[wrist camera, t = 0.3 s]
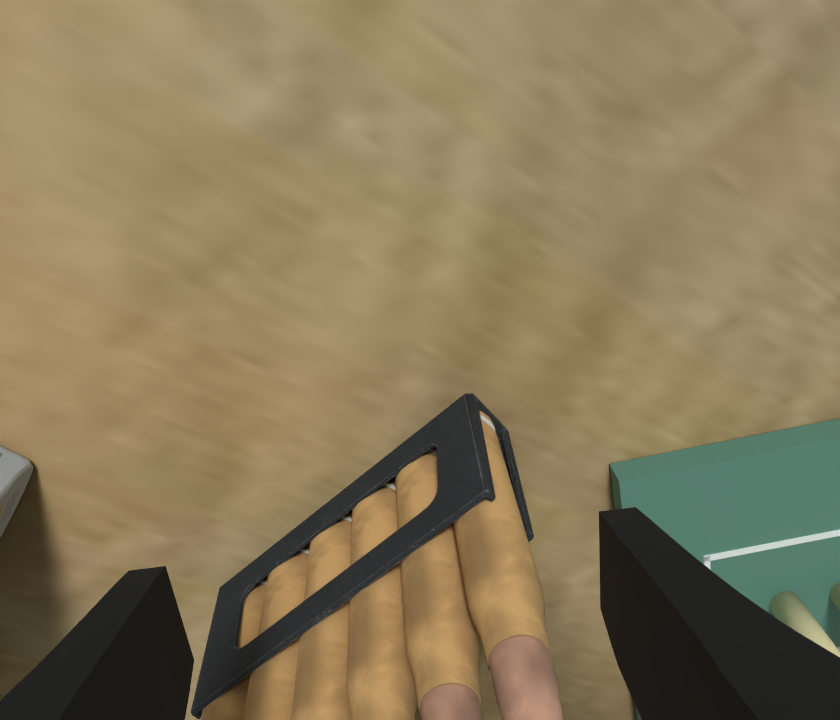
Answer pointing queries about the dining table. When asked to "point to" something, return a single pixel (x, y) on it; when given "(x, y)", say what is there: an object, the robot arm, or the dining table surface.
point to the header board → (754, 518)
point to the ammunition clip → (393, 595)
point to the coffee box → (12, 483)
